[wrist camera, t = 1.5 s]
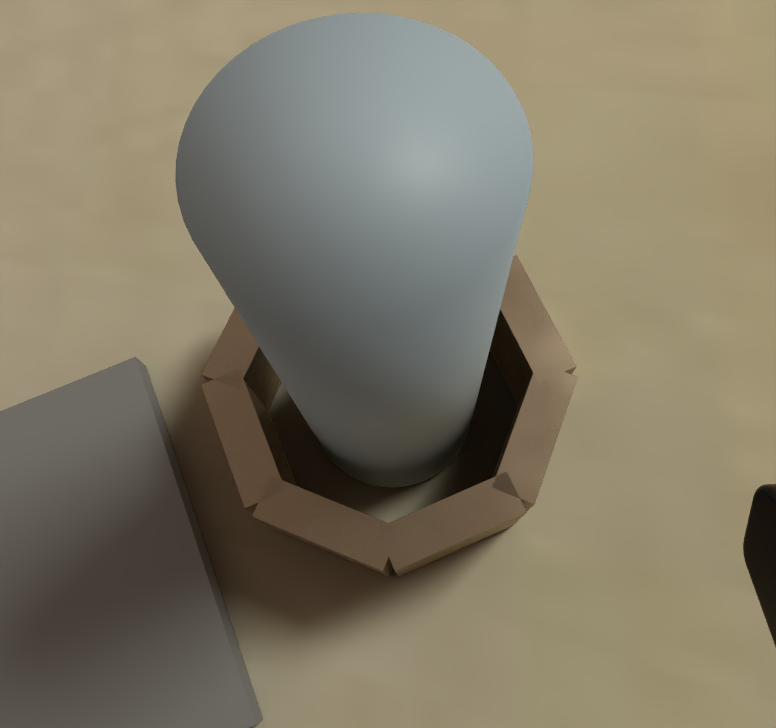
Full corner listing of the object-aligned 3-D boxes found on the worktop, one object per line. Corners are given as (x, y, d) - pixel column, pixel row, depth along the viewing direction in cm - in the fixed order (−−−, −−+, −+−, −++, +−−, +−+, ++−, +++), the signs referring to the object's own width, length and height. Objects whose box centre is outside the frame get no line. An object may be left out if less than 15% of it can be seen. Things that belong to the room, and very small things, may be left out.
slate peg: (498, 448, 20) (598, 235, 9) (348, 513, 20) (243, 382, 8) (432, 311, 21) (442, -31, 10) (290, 369, 21) (132, 84, 10)
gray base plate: (262, 719, 18) (256, 724, 17) (-136, 901, 17) (-162, 914, 16) (145, 366, 21) (135, 356, 20) (-198, 504, 20) (-222, 500, 20)
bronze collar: (600, 487, 19) (630, 466, 17) (305, 618, 19) (283, 619, 16) (466, 229, 22) (472, 173, 19) (202, 336, 21) (168, 294, 18)
